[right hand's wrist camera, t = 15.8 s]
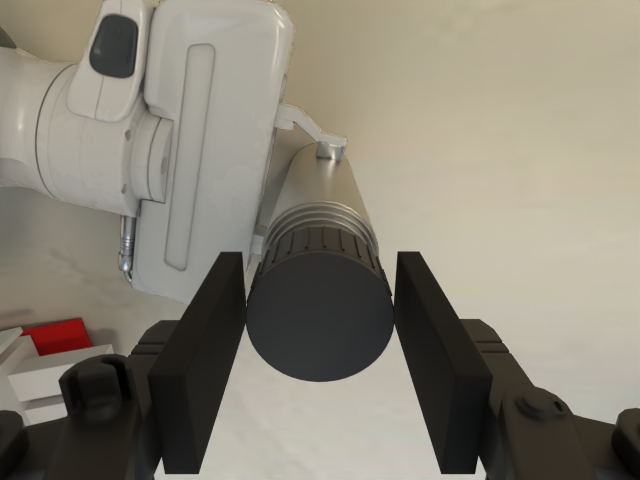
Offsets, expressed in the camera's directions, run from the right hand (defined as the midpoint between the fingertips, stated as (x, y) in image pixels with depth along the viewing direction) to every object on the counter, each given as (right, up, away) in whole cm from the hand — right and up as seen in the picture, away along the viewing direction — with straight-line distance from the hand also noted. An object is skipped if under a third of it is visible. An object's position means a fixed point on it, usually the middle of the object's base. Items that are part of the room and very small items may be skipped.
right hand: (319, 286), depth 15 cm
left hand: (+1, +5, +13) cm, 14 cm away
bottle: (0, +7, +19) cm, 20 cm away
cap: (0, -1, -2) cm, 2 cm away
